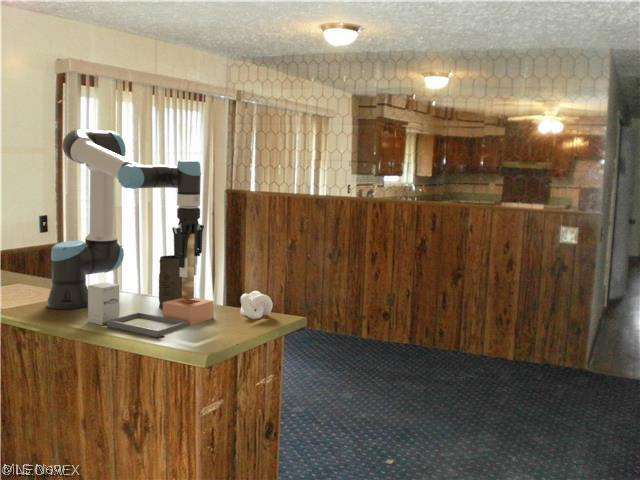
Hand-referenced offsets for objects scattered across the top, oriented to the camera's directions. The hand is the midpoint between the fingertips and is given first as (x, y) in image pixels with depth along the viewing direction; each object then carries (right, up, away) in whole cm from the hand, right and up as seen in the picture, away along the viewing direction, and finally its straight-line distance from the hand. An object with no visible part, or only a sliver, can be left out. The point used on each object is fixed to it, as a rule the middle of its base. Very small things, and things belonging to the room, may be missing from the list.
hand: (188, 275), depth 215 cm
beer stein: (-9, -13, +21) cm, 27 cm away
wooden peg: (0, -8, +1) cm, 8 cm away
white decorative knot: (+21, -16, +9) cm, 28 cm away
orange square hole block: (0, -16, +2) cm, 16 cm away
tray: (-12, -17, -8) cm, 22 cm away
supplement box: (-28, -16, -1) cm, 32 cm away
